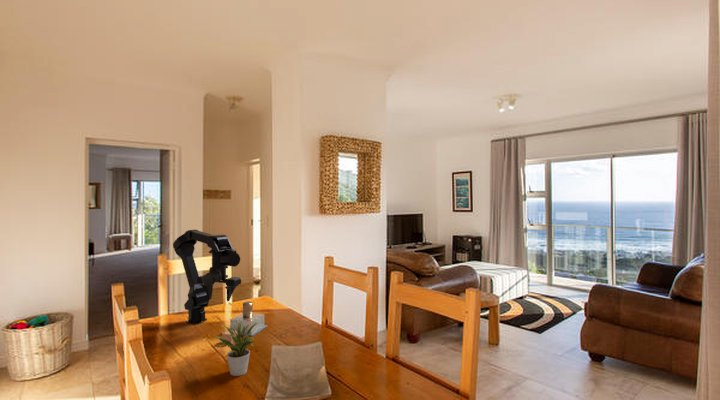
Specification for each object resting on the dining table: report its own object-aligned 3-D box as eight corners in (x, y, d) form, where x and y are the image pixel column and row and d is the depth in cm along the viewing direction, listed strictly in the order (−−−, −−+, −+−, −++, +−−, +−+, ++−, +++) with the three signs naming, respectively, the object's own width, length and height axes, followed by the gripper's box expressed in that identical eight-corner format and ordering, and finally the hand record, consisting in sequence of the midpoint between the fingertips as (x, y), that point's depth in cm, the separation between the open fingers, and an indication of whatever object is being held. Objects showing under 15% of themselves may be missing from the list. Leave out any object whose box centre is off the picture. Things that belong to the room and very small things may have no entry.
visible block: (222, 343, 146) (222, 333, 145) (228, 340, 149) (228, 330, 149) (231, 345, 144) (231, 334, 144) (237, 341, 148) (237, 331, 148)
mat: (227, 333, 157) (227, 331, 157) (243, 323, 168) (243, 322, 168) (252, 336, 153) (252, 335, 153) (267, 326, 165) (267, 325, 165)
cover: (230, 331, 157) (230, 305, 157) (244, 323, 167) (244, 298, 167) (251, 333, 154) (251, 307, 154) (264, 325, 164) (264, 300, 164)
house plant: (247, 357, 133) (247, 311, 133) (271, 368, 125) (271, 319, 124) (209, 371, 122) (209, 321, 122) (233, 385, 114) (233, 331, 113)
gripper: (187, 266, 157) (187, 303, 157) (225, 269, 152) (225, 307, 152) (205, 261, 168) (205, 296, 168) (241, 264, 162) (241, 300, 163)
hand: (218, 300), depth 162 cm, fingers open, 9 cm apart
